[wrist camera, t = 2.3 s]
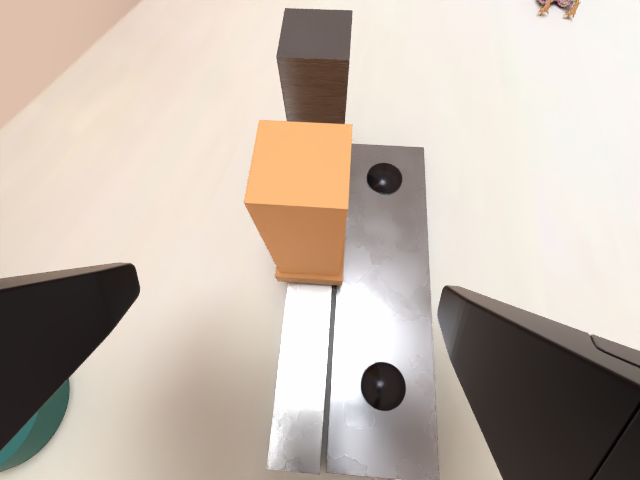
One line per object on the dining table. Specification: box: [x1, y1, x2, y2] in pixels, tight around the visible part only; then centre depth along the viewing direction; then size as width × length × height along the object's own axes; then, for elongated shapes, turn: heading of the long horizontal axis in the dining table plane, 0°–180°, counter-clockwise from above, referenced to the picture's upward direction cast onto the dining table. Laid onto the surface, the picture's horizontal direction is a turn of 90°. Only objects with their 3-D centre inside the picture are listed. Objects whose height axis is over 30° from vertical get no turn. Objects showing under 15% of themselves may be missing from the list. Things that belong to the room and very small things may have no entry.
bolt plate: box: [326, 144, 439, 480], centre depth 21 cm, size 22×6×1 cm, turn 176°
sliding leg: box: [244, 120, 352, 286], centre depth 16 cm, size 4×4×10 cm
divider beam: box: [267, 8, 352, 474], centre depth 16 cm, size 22×4×12 cm, turn 175°
